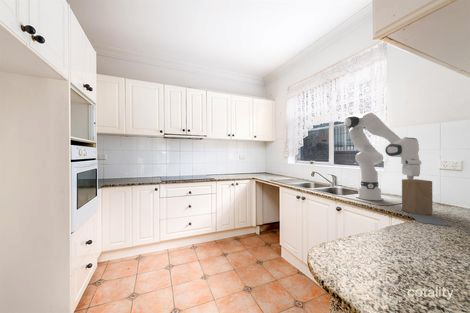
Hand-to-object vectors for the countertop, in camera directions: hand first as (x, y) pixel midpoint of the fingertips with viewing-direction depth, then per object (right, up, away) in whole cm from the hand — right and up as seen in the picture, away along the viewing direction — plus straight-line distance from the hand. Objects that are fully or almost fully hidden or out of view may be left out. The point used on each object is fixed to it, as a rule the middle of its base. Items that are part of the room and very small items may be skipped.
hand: (410, 182), depth 130 cm
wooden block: (-5, -18, -10) cm, 21 cm away
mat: (-12, -17, -24) cm, 32 cm away
